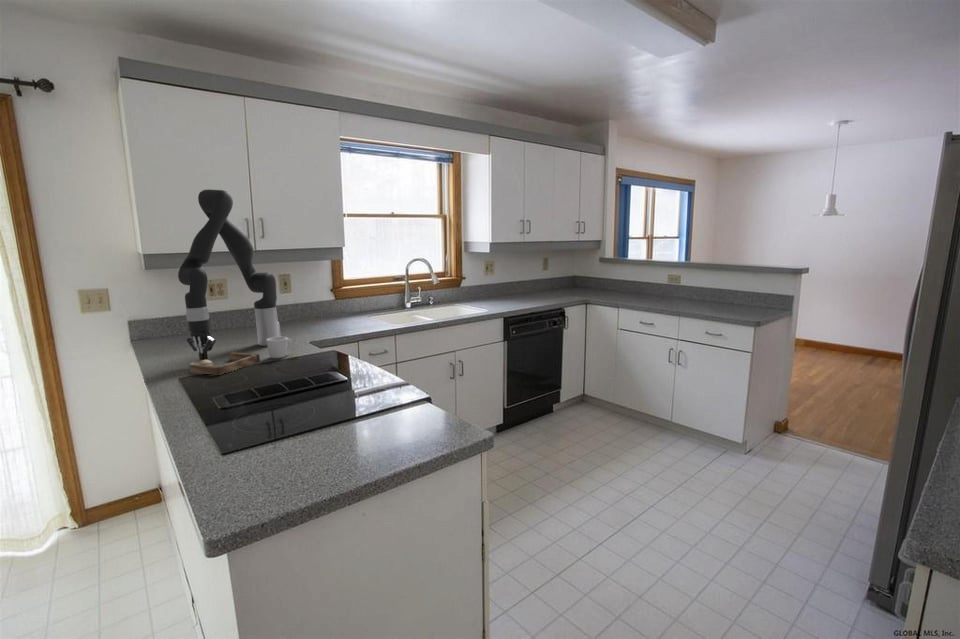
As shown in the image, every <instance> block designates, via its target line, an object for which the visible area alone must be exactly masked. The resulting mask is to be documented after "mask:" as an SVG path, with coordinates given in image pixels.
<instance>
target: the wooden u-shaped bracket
mask: <svg viewBox="0 0 960 639" xmlns="http://www.w3.org/2000/svg"><path fill="white" fill-rule="evenodd" d="M228 358H229V361H232V362H229V363H226V364H223V365H220V366H216V365H215V366H214V365H213V366H204V365H189V373H190V375H191V374H194V375H203V374H216V375H221V374H224V373H227V374H229V373H228V372H230V373H232V372H235V371H238V370H240V369H239V368H241V369H243V367H244V368H246V367H248V366H251V365H254V364H257V363H259V362H261V358H260V354H259V353H247V352H246V353H245V352H234V351H233V352H229V353H228ZM237 369H238V370H237ZM234 370H235V371H234ZM231 371H232V372H231ZM224 375H225V374H224ZM221 376H222V375H221Z"/></svg>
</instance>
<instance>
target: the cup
mask: <svg viewBox="0 0 960 639" xmlns="http://www.w3.org/2000/svg"><path fill="white" fill-rule="evenodd" d="M266 341H267V346H266V347H267V349H268V354H269V357H270V358H271V359H283V358H285V357H286V356H287V355H288V350H291V348H292V346H293V341H292V339H291V338H288V337H286V336H282V335H281V336H279V337H271V338H268V339H267V340H266Z"/></svg>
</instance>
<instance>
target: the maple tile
mask: <svg viewBox="0 0 960 639" xmlns="http://www.w3.org/2000/svg"><path fill="white" fill-rule="evenodd" d="M189 364H190V365H204V366H214V363H213V361H212V360H209V359H208V360H207V359H206V360H201V361H200V360H196V361H192V362H190V363H189ZM190 365H189V366H190Z"/></svg>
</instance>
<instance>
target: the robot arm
mask: <svg viewBox="0 0 960 639" xmlns="http://www.w3.org/2000/svg"><path fill="white" fill-rule="evenodd" d="M197 199H198V201H197V202H198V203H199V206H200V208H201V210H202V211H203V213H204V214H205V216H206V217H207V218H208V220H207V222H206V223H205V224H204V225H203V227H201V229H200V230H199V231H198V233H197V234H196V235H195V237H194V238H193V240H192V243H191V246H190V248H189V252H188V255H187V256H186V258H185V259H184V261H183V263H181V265H180V267H179V270H178V272H177V276H178V277H177V278H178V280H179V282H180V283H181V284H182V285H184V286H189V291H188V292H186V293H185V295H184V301H185V302H184V303H185V310H186V311H185V314H186V322H187V329H188V331H189V332H190V337H188V338H186V342H187V343H188V344H189V346H190V347H191V348H192V350H193V351H194V352H196V353H197V354H198V359H199V361H201V360H206V359H207V360H209V356H208V355H209V354H208V352H210V351H212V349H213V347H214V345H215V343H216V341H217V339H216V338H213V337H211V333H210V330H211V329H212V328H211V321H210V313H209V309H208V304H207V298H206V295H207V288H208V280H209V279H208V275H207V272H206V271H205V270H204V269H203V268H201V267H202V266H203V265H205V264H207V263H209V260H210V258H211V255H212V252H213V248H214V246H215V243H216V240H217V238H218V235H220V238H221V239H222V241H223V242H224V244H225V246H226V248H227V250H228V252H229V253H230V255H231V256H232V257H233V259H234V261H235V263H236V264H237V267H238V268H239V271H241V274H242V276H243V280H244V281H245V283H246V285H247V288H248V289H249V290H250V291H251V292H253V293H257V294H261V293H262V297H261V298H260V299H258V300H256V301H255V302H254V303H253V307H254V314H255V315H254V316H255V323H256V325H255V326H256V333H257V342H258V346H261V347H262V346H263V347H265V346H266V347H268V346H267V341H266V340H267V339H268V338H271V337H279V336H282V335H281V325H280V322H279V321H278V311H277V300H278V296H277V281H276V280H277V279H276V277H275V275H274V274H273V273H272V272H258V271H256V269H255V267H254V266H253V262H252V261H253V257H254V256H253V255H254V246H253V244H252V243H251V240H250V239H249V237H248V235H247V234H246V233H245V231H243V230H242V229H241V228H240V227H239V225H236V224H235V223H234V222H233V221H232V220H231V219H230V218H229V215H230V213H231V211H232V208H233V205H234V204H233V203H234V200H233V197H232V195H231V193H230V192H228V191H226V190H223V189H203V190H201V191H200V192H199V193H198V198H197Z"/></svg>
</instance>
